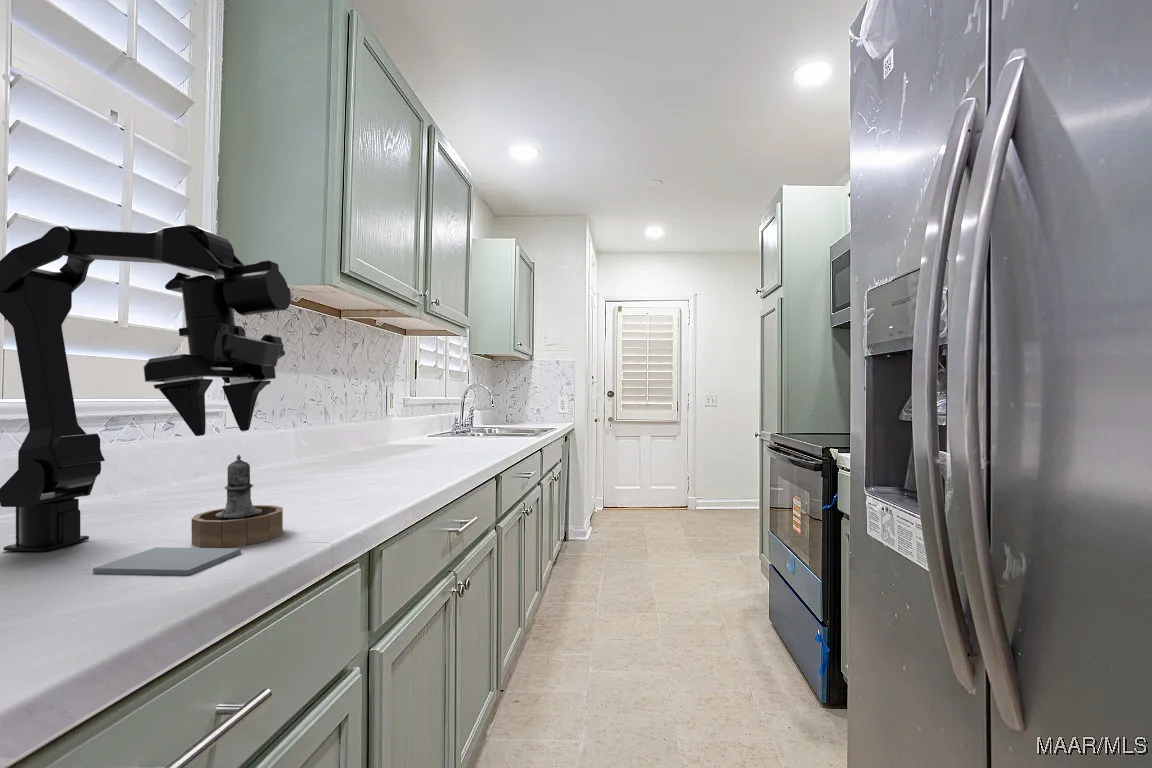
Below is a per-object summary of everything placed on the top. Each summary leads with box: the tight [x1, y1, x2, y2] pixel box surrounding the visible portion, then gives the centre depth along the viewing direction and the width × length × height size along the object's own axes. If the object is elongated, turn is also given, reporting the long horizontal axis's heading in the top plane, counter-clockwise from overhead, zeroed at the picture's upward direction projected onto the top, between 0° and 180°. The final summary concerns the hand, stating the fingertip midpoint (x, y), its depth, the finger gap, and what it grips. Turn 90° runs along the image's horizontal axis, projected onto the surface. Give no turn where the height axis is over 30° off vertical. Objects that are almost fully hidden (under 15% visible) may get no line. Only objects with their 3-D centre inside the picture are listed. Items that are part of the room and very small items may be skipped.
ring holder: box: [191, 504, 284, 548], centre depth 84 cm, size 11×11×4 cm
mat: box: [92, 546, 242, 576], centre depth 71 cm, size 12×9×1 cm
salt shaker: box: [215, 454, 262, 520], centre depth 84 cm, size 6×6×12 cm
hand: (223, 433), depth 79 cm, fingers open, 9 cm apart
